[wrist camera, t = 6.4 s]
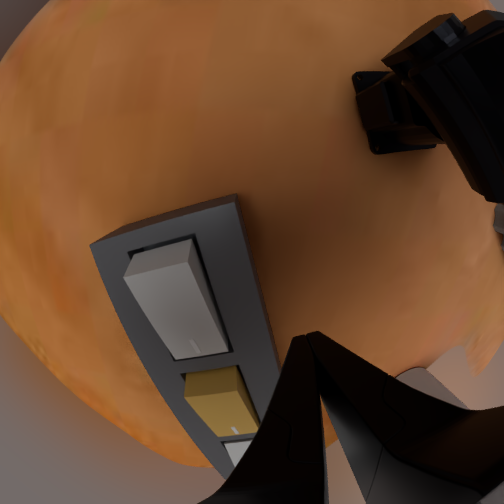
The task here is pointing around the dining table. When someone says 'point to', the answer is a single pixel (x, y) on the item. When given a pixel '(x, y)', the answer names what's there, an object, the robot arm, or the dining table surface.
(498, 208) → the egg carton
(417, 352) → the dining table surface
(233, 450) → the rocker
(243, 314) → the rocker switch panel
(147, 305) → the rocker
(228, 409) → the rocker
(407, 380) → the cup
